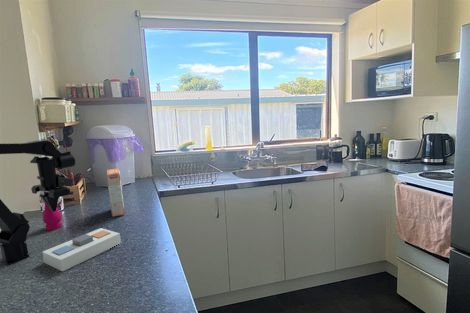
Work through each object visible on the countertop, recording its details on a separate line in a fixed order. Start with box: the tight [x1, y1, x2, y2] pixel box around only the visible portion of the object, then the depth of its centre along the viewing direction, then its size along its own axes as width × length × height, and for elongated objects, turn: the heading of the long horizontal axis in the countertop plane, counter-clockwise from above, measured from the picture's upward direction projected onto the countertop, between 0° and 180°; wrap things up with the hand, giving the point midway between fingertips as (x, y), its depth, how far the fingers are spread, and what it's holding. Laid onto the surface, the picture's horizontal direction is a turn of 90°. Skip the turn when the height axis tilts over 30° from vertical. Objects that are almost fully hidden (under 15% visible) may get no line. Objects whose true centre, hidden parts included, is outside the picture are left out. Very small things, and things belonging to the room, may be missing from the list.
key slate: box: [52, 245, 74, 256], centre depth 102 cm, size 5×5×3 cm
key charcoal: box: [71, 233, 93, 247], centre depth 107 cm, size 5×5×3 cm
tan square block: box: [91, 230, 110, 239], centre depth 113 cm, size 5×5×3 cm
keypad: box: [41, 227, 122, 272], centre depth 108 cm, size 22×12×4 cm, turn 147°
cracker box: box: [106, 168, 125, 218], centre depth 148 cm, size 14×6×21 cm, turn 22°
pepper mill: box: [39, 191, 63, 231], centre depth 133 cm, size 7×7×20 cm
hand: (54, 211), depth 119 cm, fingers closed
